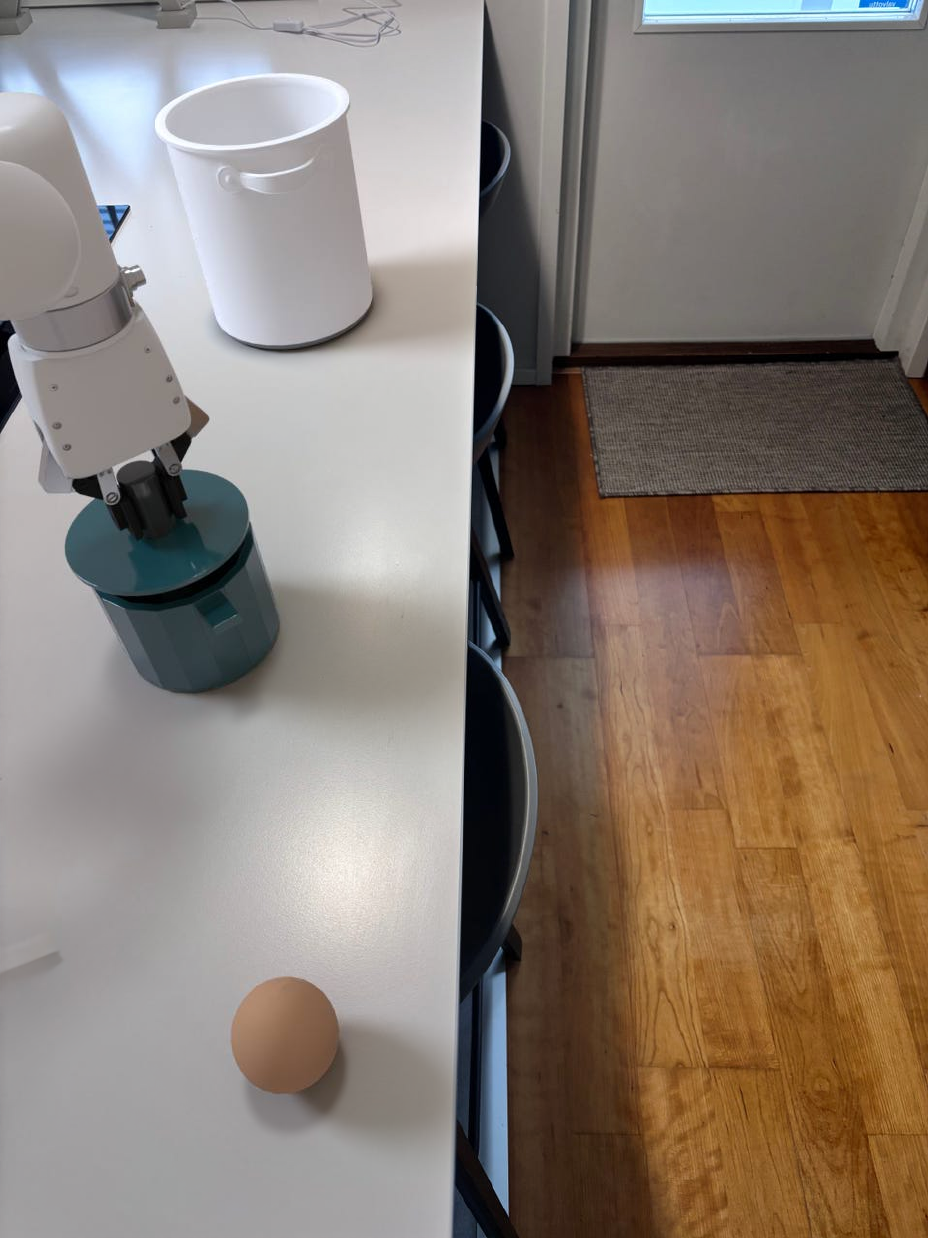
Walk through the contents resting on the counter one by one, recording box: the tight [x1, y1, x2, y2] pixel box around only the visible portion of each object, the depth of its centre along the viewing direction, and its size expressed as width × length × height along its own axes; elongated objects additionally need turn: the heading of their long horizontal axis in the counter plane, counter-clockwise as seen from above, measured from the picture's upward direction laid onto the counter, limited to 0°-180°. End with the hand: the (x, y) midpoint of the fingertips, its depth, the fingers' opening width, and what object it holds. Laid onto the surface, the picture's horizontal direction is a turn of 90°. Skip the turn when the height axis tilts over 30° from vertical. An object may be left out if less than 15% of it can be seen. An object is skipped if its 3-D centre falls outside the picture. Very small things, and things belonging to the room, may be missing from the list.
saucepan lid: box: [64, 459, 251, 596], centre depth 74 cm, size 15×15×7 cm
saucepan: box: [90, 520, 280, 693], centre depth 82 cm, size 14×19×10 cm
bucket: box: [154, 72, 373, 350], centre depth 114 cm, size 26×22×24 cm
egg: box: [230, 976, 340, 1095], centre depth 58 cm, size 6×6×8 cm
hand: (154, 518), depth 75 cm, fingers closed on saucepan lid, 3 cm apart
